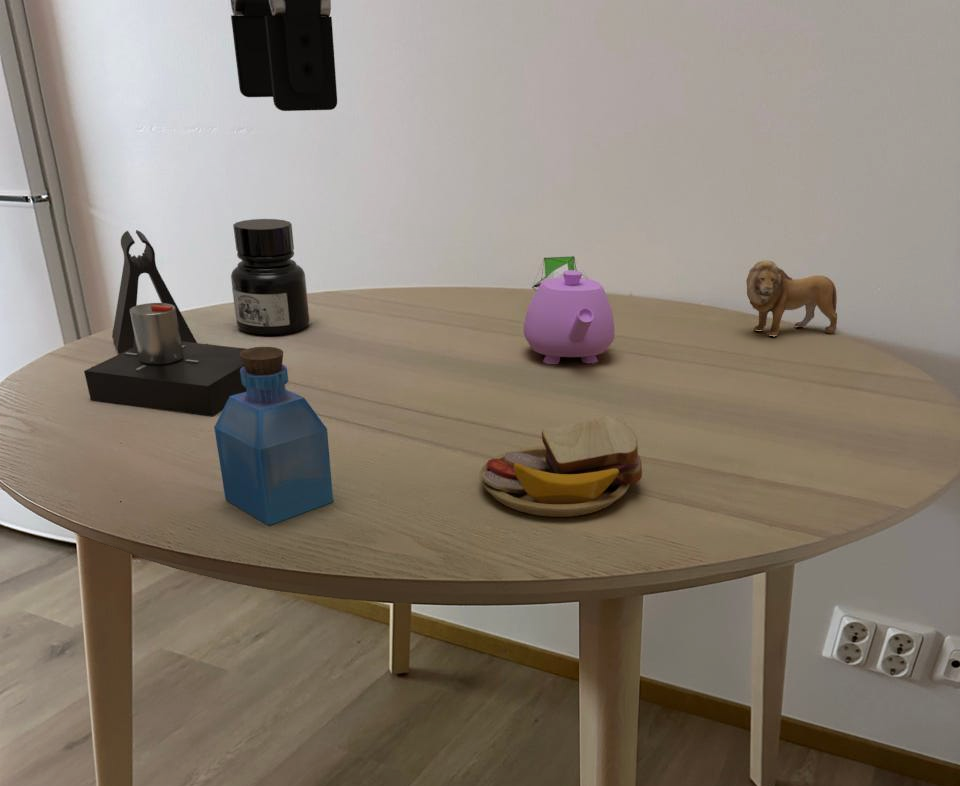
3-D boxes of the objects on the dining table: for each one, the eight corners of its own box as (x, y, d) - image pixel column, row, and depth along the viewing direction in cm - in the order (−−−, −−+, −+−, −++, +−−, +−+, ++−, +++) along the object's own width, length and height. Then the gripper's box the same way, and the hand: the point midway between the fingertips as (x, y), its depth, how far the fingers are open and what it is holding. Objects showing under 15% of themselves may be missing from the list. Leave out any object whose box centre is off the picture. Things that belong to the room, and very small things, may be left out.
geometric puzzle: (524, 283, 128) (536, 241, 120) (571, 281, 129) (586, 239, 122) (535, 326, 125) (548, 286, 118) (582, 323, 127) (598, 283, 119)
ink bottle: (220, 328, 115) (205, 225, 108) (269, 313, 121) (257, 214, 115) (279, 341, 111) (267, 234, 104) (326, 324, 117) (318, 222, 111)
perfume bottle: (289, 478, 79) (273, 335, 72) (333, 501, 75) (320, 353, 68) (225, 500, 75) (202, 352, 68) (268, 525, 71) (248, 371, 65)
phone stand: (189, 332, 114) (172, 227, 107) (197, 346, 109) (180, 237, 102) (112, 340, 111) (90, 232, 104) (117, 354, 106) (94, 242, 99)
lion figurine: (752, 344, 113) (766, 266, 108) (727, 332, 117) (739, 257, 112) (848, 332, 117) (866, 257, 112) (820, 321, 121) (836, 248, 116)
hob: (90, 400, 94) (83, 369, 92) (157, 365, 103) (152, 336, 101) (212, 416, 90) (207, 384, 89) (270, 378, 100) (267, 349, 98)
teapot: (598, 338, 114) (605, 258, 109) (627, 377, 102) (636, 289, 96) (515, 339, 113) (518, 258, 108) (534, 379, 101) (538, 290, 95)
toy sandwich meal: (477, 458, 83) (478, 407, 80) (628, 459, 83) (633, 408, 80) (480, 522, 72) (481, 465, 70) (652, 522, 72) (659, 466, 70)
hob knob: (130, 362, 94) (119, 308, 91) (155, 349, 98) (145, 298, 95) (168, 366, 93) (158, 312, 90) (191, 354, 97) (183, 301, 94)
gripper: (139, -296, 47) (195, 93, 57) (183, -417, 34) (246, 118, 43) (285, -280, 49) (315, 91, 59) (380, -387, 36) (398, 114, 46)
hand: (285, 102), depth 51 cm, fingers open, 9 cm apart
